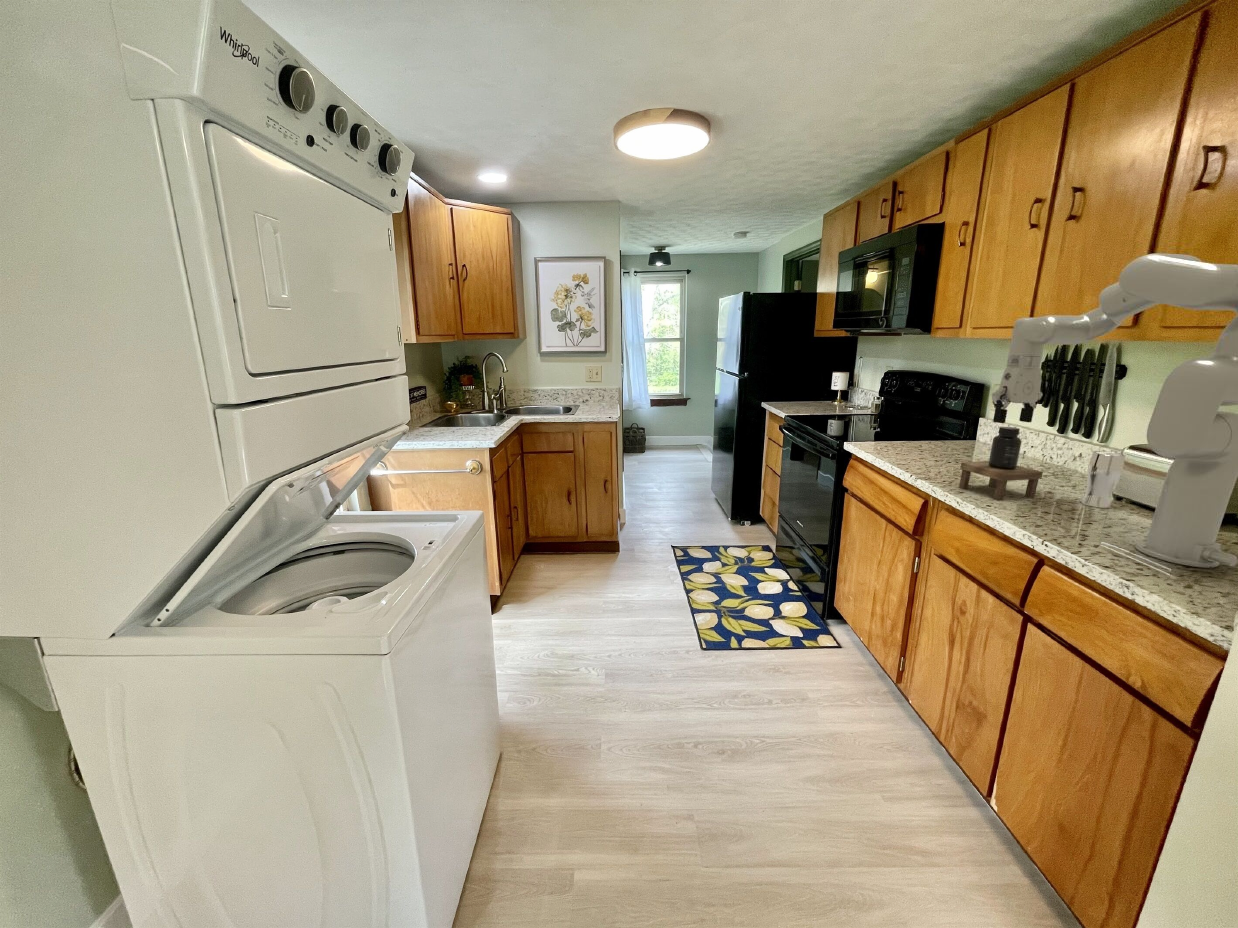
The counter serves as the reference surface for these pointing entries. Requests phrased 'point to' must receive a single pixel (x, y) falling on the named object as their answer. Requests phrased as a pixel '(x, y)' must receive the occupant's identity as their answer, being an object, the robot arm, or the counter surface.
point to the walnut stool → (1000, 477)
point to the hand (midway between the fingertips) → (1012, 422)
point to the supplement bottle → (1005, 449)
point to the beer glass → (1102, 478)
